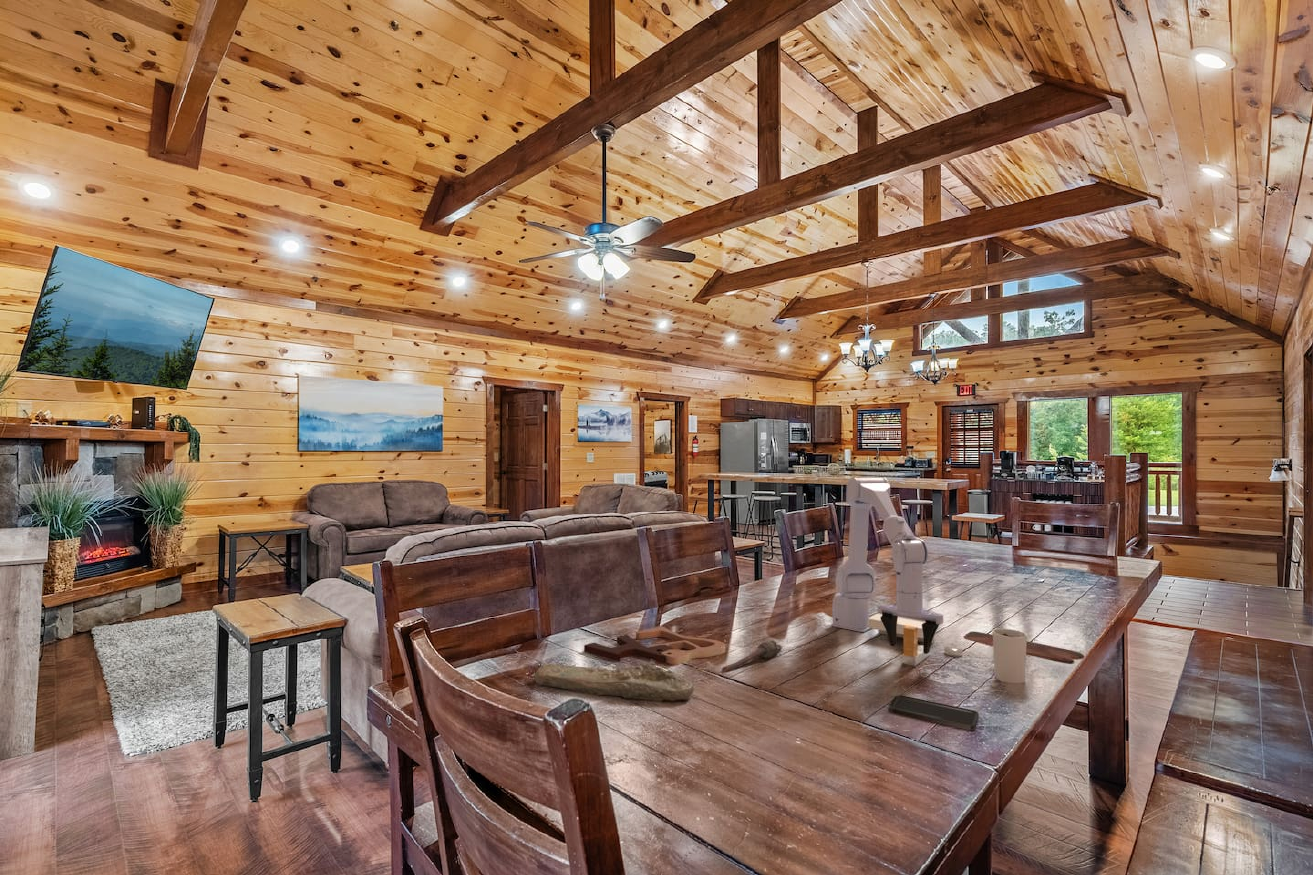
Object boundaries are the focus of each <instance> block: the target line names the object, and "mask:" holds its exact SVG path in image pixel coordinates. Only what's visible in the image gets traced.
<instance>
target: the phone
mask: <svg viewBox="0 0 1313 875" xmlns="http://www.w3.org/2000/svg"><path fill="white" fill-rule="evenodd" d="M888 712H890V713H892V714H896V715H902V716H905V717H909V718H914V719H918V720H922V721H927V722H932V723H937V724H941V725H944V726H950V727H953V728H958V729H962V730H966V731H974V730H976V728H977V725H978V722H979V719H980V718H979V717H980V714H979V711H976V710H972V709H968V708H964V707H958V706H954V705H949V704H945V703H940V702H936V701H929V700H925V699H921V698H915V697H912V696H906V695H902V694H901V695H900V694H897V695H895V696H894V697H893V699H892V700H891V702H890V703H889V705H888Z"/></svg>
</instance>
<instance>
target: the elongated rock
mask: <svg viewBox="0 0 1313 875" xmlns="http://www.w3.org/2000/svg"><path fill="white" fill-rule="evenodd" d="M534 681H535V683H536V685H538V686H548V687H551V688H558V689H561V690H562V689H563V690H567V691H571V692H573V693H574V692H580V693H586V694H589V695H592V694H593V695H597V696H615V697H622V698H625V699H632V700H640V699H641V700H644V701H646V700H647V701H651V702H656V703H657V702H659V703H661V702H663V701H671V702H674V701H681V700H688V699H690V697H692V695H693V693H694V691H695V688H694V684H693V683H692V681H690V680H687V679H686V678H685V677H684V676H681V675H680V674H679V673H676V672H675V671H672V670H666V669H664V668H663V667H660V666H657V665H656V664H655V662H647V663H643V664H641V665H636V666H635V667H631V666H630V667H625V668H624V669H614V670H611V669H607V668H597V667H586V666H576V665H564V664H559V663H556V664H555V663H552V664H551V663H550V664H547V665H544V666H542V667H538V668H537V670H536V672H535V673H534Z"/></svg>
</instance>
